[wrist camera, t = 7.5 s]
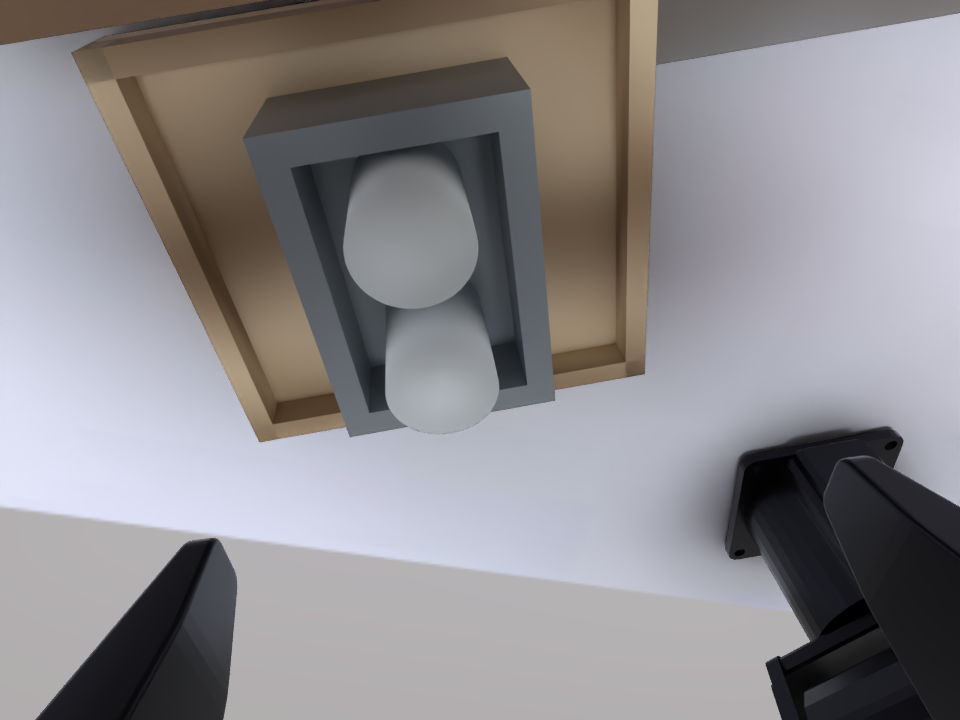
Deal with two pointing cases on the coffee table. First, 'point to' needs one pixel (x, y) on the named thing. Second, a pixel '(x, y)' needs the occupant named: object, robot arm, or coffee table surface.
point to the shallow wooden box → (403, 50)
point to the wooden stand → (90, 15)
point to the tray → (494, 201)
